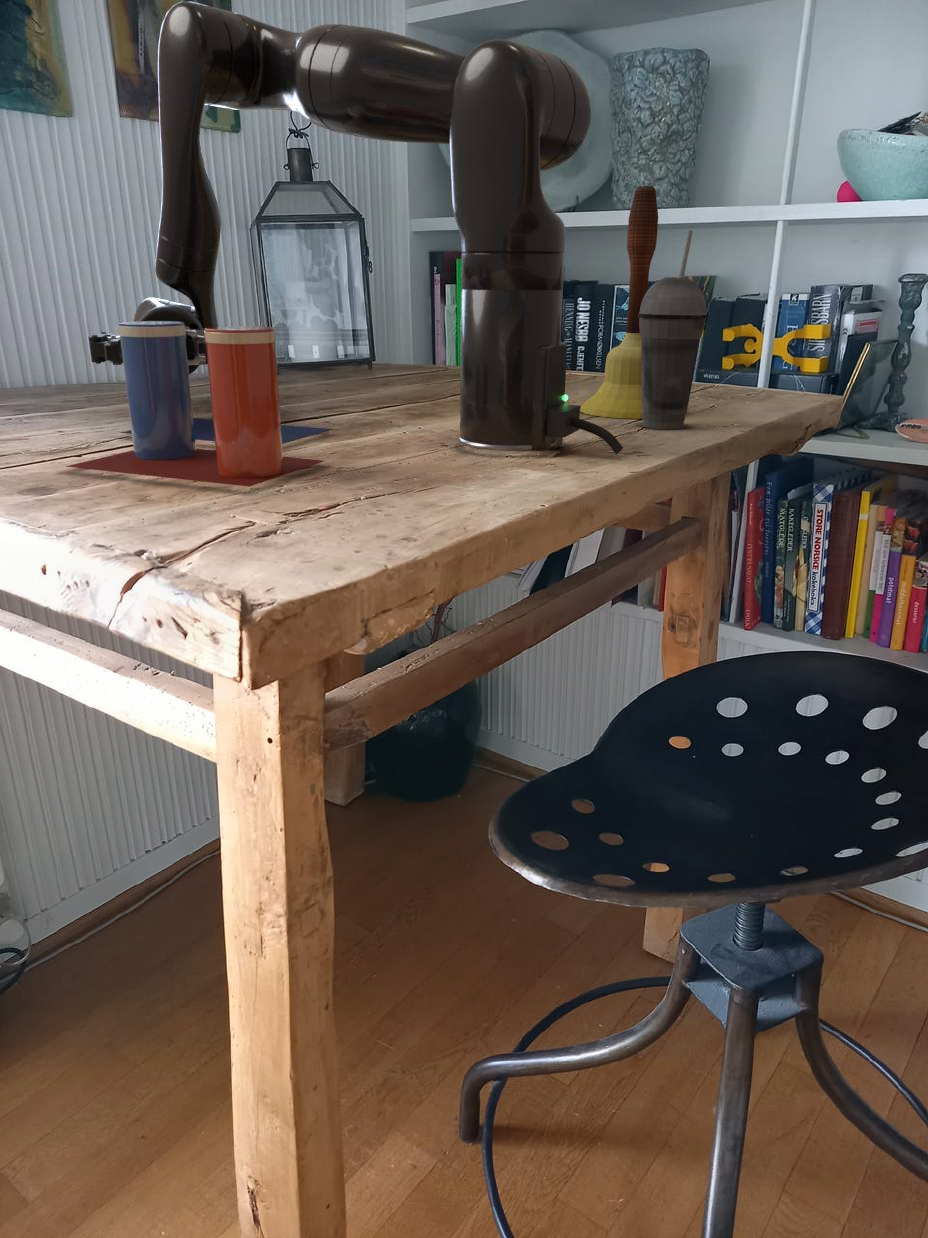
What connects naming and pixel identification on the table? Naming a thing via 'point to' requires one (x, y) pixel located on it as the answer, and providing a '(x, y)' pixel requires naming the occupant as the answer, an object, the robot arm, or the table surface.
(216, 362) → the cylinder
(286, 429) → the blue mat
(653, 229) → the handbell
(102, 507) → the table surface
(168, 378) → the blue tumbler
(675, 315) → the beverage cup
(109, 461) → the red mat
